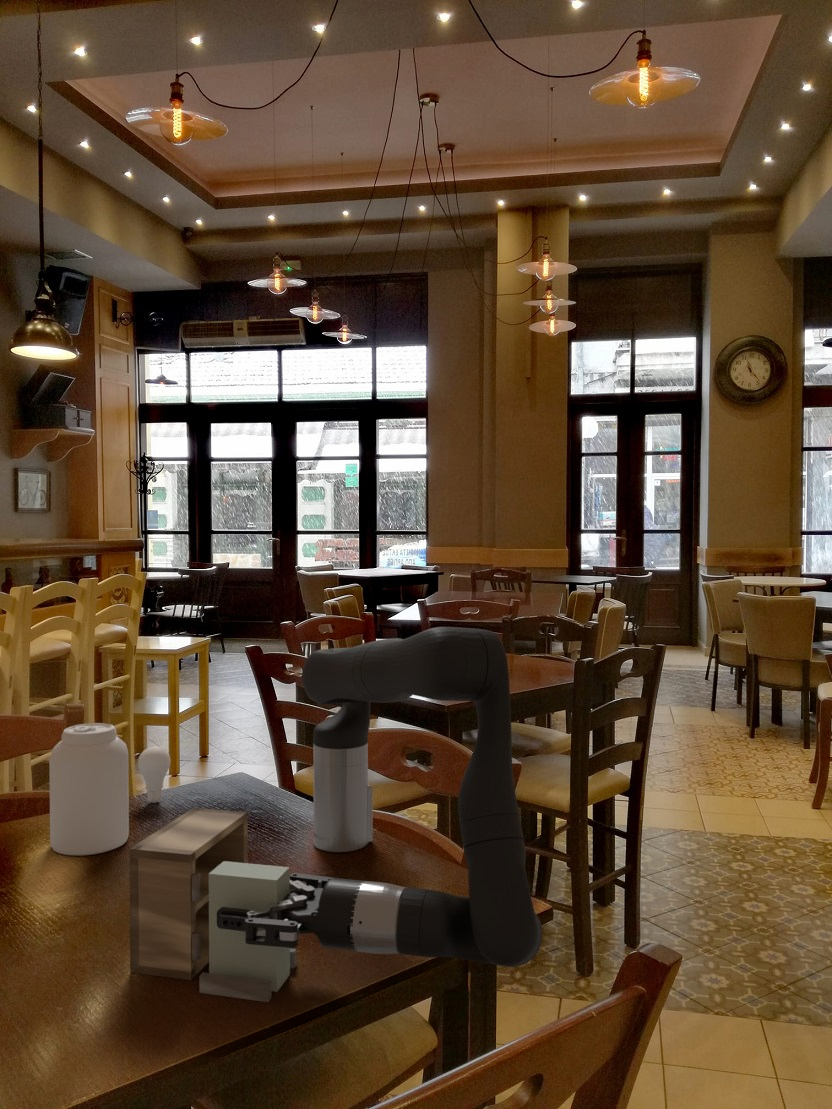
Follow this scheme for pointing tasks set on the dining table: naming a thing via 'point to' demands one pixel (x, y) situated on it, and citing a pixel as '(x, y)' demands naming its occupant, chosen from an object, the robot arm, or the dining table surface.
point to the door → (228, 947)
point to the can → (89, 790)
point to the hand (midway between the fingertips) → (234, 901)
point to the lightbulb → (154, 770)
